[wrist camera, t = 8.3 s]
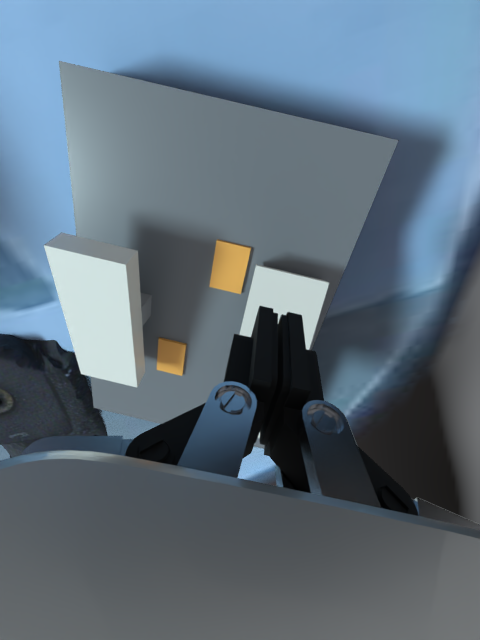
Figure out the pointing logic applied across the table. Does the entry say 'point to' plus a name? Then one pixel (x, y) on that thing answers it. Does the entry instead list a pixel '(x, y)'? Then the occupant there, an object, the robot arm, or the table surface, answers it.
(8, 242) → the table surface
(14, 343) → the dark slate chunk
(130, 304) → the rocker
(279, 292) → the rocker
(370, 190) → the switch box
